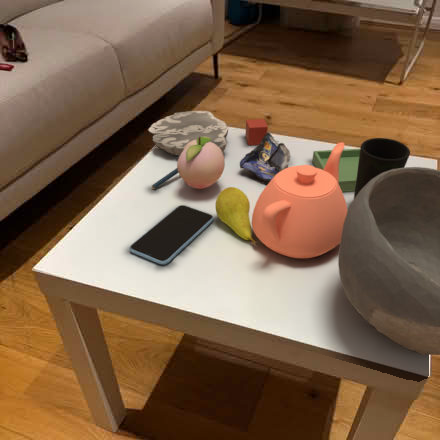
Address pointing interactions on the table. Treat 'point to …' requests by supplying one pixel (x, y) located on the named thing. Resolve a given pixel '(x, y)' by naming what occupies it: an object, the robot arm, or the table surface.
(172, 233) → the smartphone
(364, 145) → the cup
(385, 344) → the table surface
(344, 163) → the green tray
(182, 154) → the decorative fruit
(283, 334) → the table surface
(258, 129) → the red block
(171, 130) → the brain slice
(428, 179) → the bowl
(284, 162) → the snack package
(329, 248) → the teapot
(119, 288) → the table surface
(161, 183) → the pencil
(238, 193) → the fruit
